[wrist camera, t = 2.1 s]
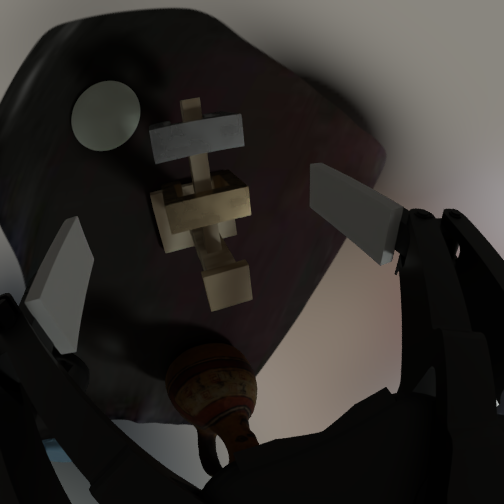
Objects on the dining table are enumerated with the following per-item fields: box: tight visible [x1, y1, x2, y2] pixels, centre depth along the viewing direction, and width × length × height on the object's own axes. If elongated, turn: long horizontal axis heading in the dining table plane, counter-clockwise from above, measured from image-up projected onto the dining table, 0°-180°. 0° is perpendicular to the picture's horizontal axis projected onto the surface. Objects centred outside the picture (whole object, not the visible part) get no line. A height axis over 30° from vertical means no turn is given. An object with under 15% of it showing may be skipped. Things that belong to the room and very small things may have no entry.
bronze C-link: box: [161, 170, 251, 235], centre depth 28 cm, size 8×3×7 cm, turn 95°
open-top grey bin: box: [149, 111, 244, 164], centre depth 25 cm, size 8×3×7 cm, turn 95°
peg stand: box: [150, 98, 252, 311], centre depth 31 cm, size 12×22×20 cm, turn 5°
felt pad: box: [71, 81, 140, 151], centre depth 30 cm, size 10×10×1 cm
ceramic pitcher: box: [165, 343, 259, 477], centre depth 49 cm, size 20×20×30 cm
